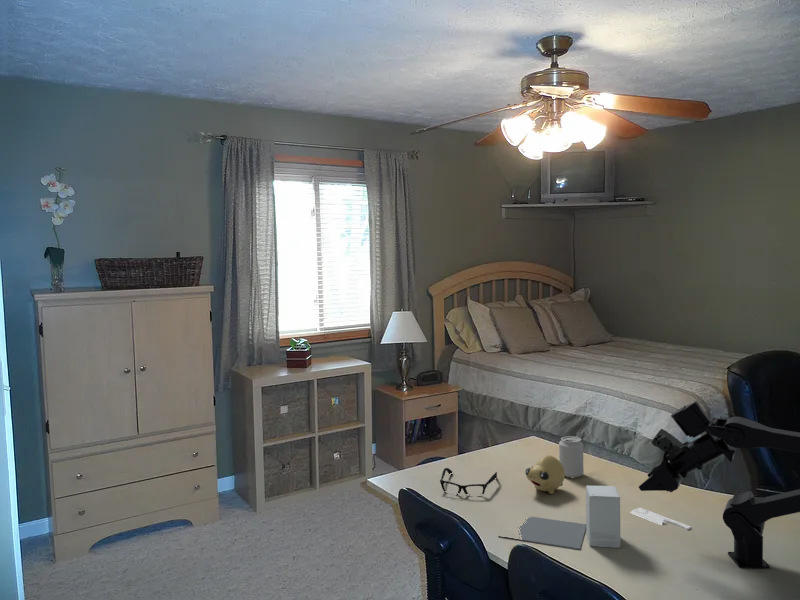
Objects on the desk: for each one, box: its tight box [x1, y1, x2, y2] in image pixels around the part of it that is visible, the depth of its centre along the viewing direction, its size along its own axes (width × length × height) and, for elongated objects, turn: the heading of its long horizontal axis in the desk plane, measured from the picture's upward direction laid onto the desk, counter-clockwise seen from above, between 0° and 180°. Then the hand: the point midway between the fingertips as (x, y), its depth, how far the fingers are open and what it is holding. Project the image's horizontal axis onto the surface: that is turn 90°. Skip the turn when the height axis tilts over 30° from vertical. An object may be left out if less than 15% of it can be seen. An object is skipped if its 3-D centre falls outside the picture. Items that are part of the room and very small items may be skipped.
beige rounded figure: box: [525, 454, 566, 495], centre depth 180 cm, size 10×12×11 cm
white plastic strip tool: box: [629, 507, 692, 531], centre depth 158 cm, size 5×15×1 cm, turn 33°
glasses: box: [439, 467, 498, 495], centre depth 186 cm, size 17×18×5 cm
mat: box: [518, 516, 586, 551], centre depth 154 cm, size 20×14×1 cm
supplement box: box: [585, 485, 621, 549], centre depth 148 cm, size 7×7×13 cm
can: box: [558, 435, 585, 478], centre depth 192 cm, size 8×8×12 cm
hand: (644, 482), depth 148 cm, fingers open, 9 cm apart
